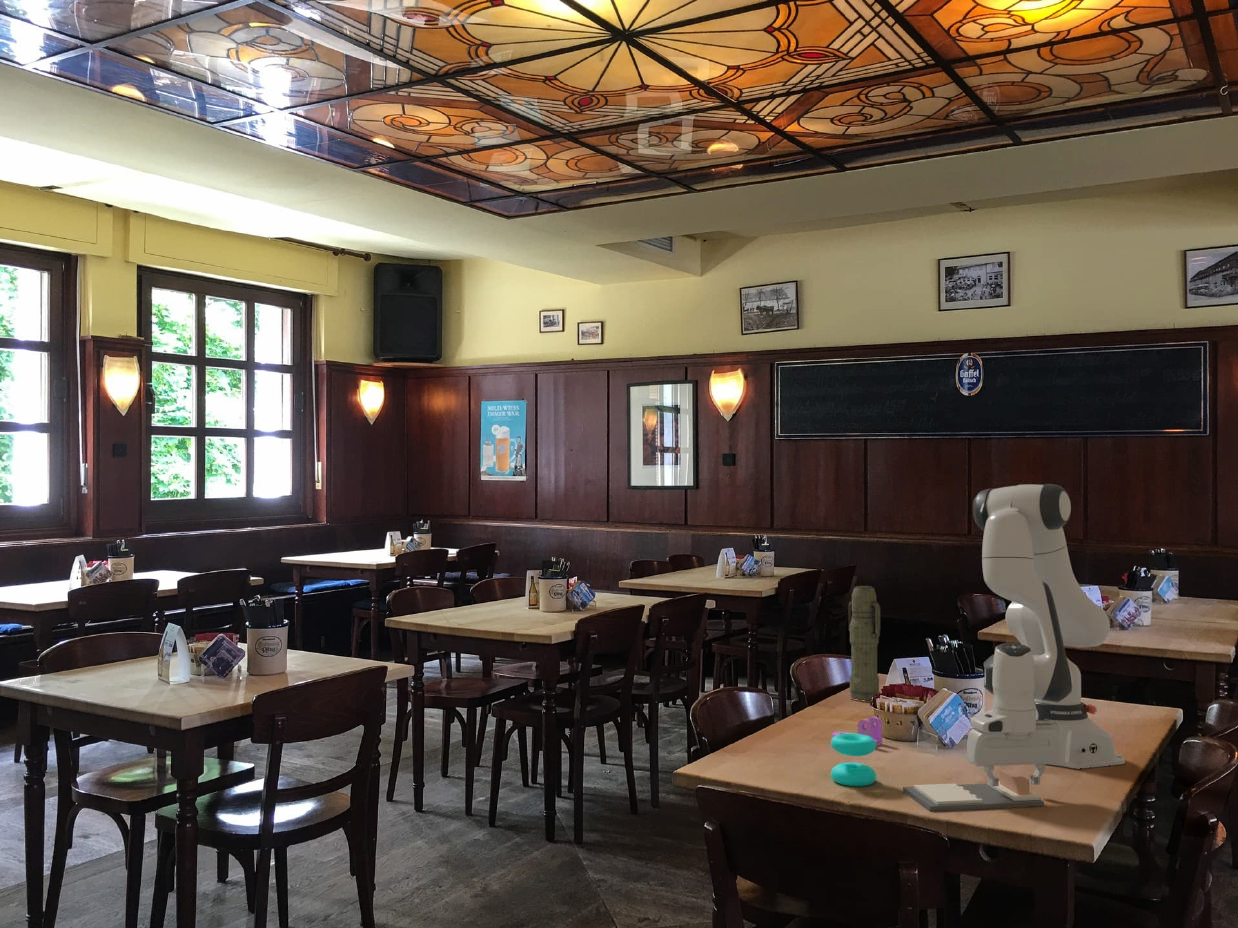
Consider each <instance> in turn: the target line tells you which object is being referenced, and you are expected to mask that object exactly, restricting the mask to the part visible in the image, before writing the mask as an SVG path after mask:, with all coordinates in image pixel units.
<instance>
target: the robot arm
mask: <svg viewBox="0 0 1238 928" xmlns="http://www.w3.org/2000/svg"><path fill="white" fill-rule="evenodd" d="M1071 507H1072V506H1071V500H1070V497H1069V493H1068V492H1067V490H1066V489H1065V488H1063V487H1062V486H1061V485H1058V484H1052V483H1045V484H1018V485H1010V486H1003V487H998V488H994V487H992V488H991V487H990V488H986V489H984V490H981V491H979V492H978V493H977V495H976V496H975V497H974V499H973V503H972V515H973V519H974V522H975V524H976V525H977V527H978V528H979V529H980V530H981V531H983V539H982V548H981V549H982V550H981V553H982V554H981V563H982V565H981V566H982V574H983V580H984V583H985V584H986V586H987V588H989V589H990V590H991V591H992V592H993V593H994V594H996V595H998V596H999V597H1001V598H1003V599H1006V600H1007V601H1011V603H1010V604H1009V605H1008V607H1007V609H1006V611H1005V624H1006V627H1007V629H1008V631H1009V632H1010V633H1011V634H1012V635H1013V636H1014V637H1015V638H1016V639H1017V641H1018V642H1004V643H1001V644H998V645H997V646H995V648H994V654H992V655H991V656H989V657H988V658H987V659H985V661H984V662H983V667H984V682H983V687H984V688H985V689H986V690H987V691H988V692H989V693H990V694H991V695H993V696H994V697H993V700H992V704H991V705H992V707H991V709H989V710H987V711H985V712H982V713H979V714H977V715H974V716H972V717H971V718H970V719H969V720H970V722H969V723H970V726H971V727H972V729H970V731H969V732H968V736H967V739H966V740H967V743H966V759H967V761H968V762H969V763H970V764H972V765H974V766H975V767H982V768H983V770H984V772H985V774H986V776H987V777H988V782H989V785H990V786H999V783H998V782H999V781H1000V777H997V776H996V775H994V773H993V771H994V770H995V766H1000V767H1001V766H1022V765H1026V766H1027V765H1034V767H1036V768H1035V770H1034V772H1033V773H1032V774H1029V784H1031V785H1041V777H1042V775H1043V773H1044V772H1045V770H1046V765H1051V766H1059V767H1065V768H1068V769H1069V768H1070V769H1074V768H1075V769H1076V770H1077V769H1079V770H1081V769H1080V768H1082V769H1088V768H1090V767H1091V768H1099V767H1109V765H1110V766H1118V765H1125V763H1126V760H1125V758H1124V757H1123V756H1122V755H1121V754H1118V753H1117V752H1116V751H1115V747H1114V741H1113V739H1112V736H1111V734H1109V733H1108V732H1107V731H1106V730H1104V729H1103V728H1102V727H1101V726H1100V725H1098V724H1097V723H1096V722H1095V721H1093V719H1090V717H1089V715H1088V713H1089V714H1091V715H1095V714H1096V713H1097V711H1098V709H1097V707H1096V706H1095V705H1093V704H1086V703H1085V702H1082V674H1081V670H1080V669H1079V667H1078V666H1077V665H1076V664H1075V663H1074V662H1072V661H1071V660H1070V659H1069V658H1068V657H1067V655H1066V650H1065V646H1066V647H1072V648H1093V647H1098V646H1101V645H1102V644H1103V643H1104V642H1105V641H1106V640H1107V638H1108V637H1109V634H1110V631H1111V629H1110V628H1111V624H1110V623H1111V622H1110V619H1109V616H1108V614H1107V612H1106V611H1105V609H1103V608H1102V607H1101V606H1099V605H1098V604H1097V603H1095V602H1094V601H1093V600H1092V599H1091V598H1090V597H1089V596H1088V595H1087V593H1085V591H1084V590H1083V589H1082V587H1081V585H1080V583H1079V582H1078V581H1077V579H1076V577H1075V574H1074V571H1073V569H1072V564H1071V560H1070V555H1069V551H1068V550H1069V549H1068V546H1067V539H1066V536H1065V532H1064V528H1063V527H1064V526H1065V525H1066V524H1067V523H1068V522H1069V520H1070V517H1071V510H1072V508H1071Z"/></svg>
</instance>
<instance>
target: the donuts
mask: <svg viewBox="0 0 1238 928" xmlns="http://www.w3.org/2000/svg"><path fill="white" fill-rule="evenodd" d="M830 745H831V747H832V749H833V750H834V751H835V752H836V753H839V754H841V755H845V756H848V757H850V756H851V757H862V756H868V755H870V754H872V753H874V751H876V749H877V746H876V742H875V740H874V739H873V738H871V737H869V736H867V735H862V734H858V733H854V732H849V733H846V734H839V735H836V736H834V737H833V738H832V737H831V740H830ZM830 777H831V778H832V781H834V782H836V783H838V784H839V785H844V786H849V787H867V786H870V785H872V784H874V782H875V781H876V780H877V773H876V772H875V770H874V769H873V768H872V767H871V766H869V765H868V764H865V763H859V762H843V763H838V764H837V765H835V766H834V767H833V768H832V769H831V771H830Z"/></svg>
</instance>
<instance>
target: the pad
mask: <svg viewBox="0 0 1238 928" xmlns="http://www.w3.org/2000/svg"><path fill="white" fill-rule="evenodd" d="M902 792H903V793H905V794H906V795H907V796H908V797H910V798H911V799H912V800H914V801H915V802H917V803H918V804H919V805H921V806H922V807H924V808H925V809H926V810H928V811H929V812H940V811H941V812H944V811H967V810H988V809H987V808H995V809H1012V807H1018V808H1028V807H1027V806H1042V807H1045V801H1044V800H1042V799H1041V800H1022V801H1014V800H1012V799H1010V798H1009V797H1007V796H1005V795H1004V794H1002V793H1000V792H999V791H997V790H995V789H994V788H992V787H990V786H989V785H987V783H973V784H972V783H971V784H958V783H936V784H931V783H930V784H913V786H903V787H902Z"/></svg>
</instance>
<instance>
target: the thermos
mask: <svg viewBox="0 0 1238 928" xmlns="http://www.w3.org/2000/svg"><path fill="white" fill-rule="evenodd" d="M875 590H876V589H875V587H872V586H871V585H856V586H855V587H853V590H852V593H851V600H850V601H849V602H848V604H847V610H848V611H847V612H848V613H847V615H848V626H847V627H848V629H847V630H848V631H849V643H850V646H851V648H850V649H851V650H850V651H851V653H850V654H851V663H850V665H851V666H850V667H851V672H850V676H849V692H850V696H851V698H853V699H858V700H865V701H871V700H872V697H873V696H874V694H876V693H878V694H879V692H880V678H879V676H878V675H879V674H878V646H879V645H878V644H879V643H880V641H879V638H880V635H881V606H880V604H879V602H877V594H876V591H875Z"/></svg>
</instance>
